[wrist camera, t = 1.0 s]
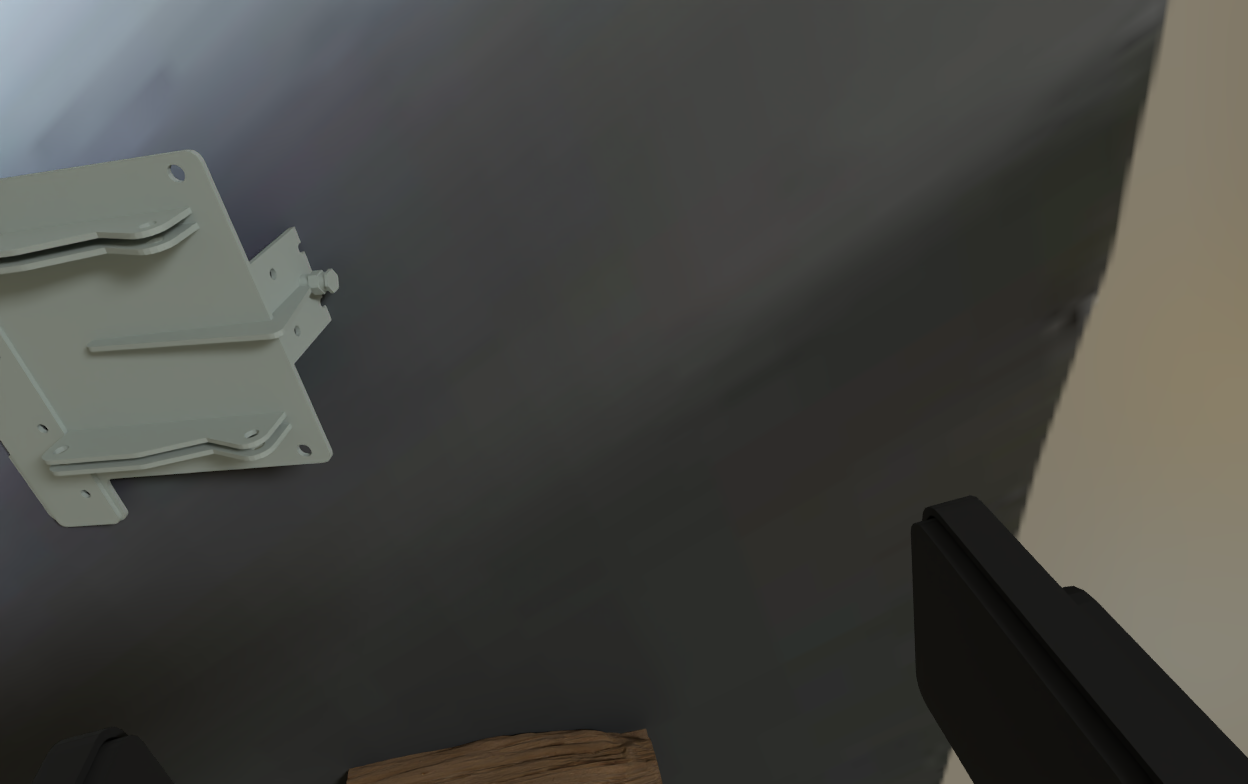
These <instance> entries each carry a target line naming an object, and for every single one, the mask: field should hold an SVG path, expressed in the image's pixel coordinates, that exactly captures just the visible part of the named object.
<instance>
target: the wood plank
mask: <svg viewBox="0 0 1248 784" xmlns="http://www.w3.org/2000/svg"><path fill="white" fill-rule="evenodd" d="M346 784H662V780H661V776H660V772H659V768H658V764H657V760H656V757H655V753H654V750H653V747H652V743H651V740H650V738H648V735H647V731H646V729H643V730H638V731H633V732H628V733H623V734H619V733H604V732H601V731H596V730H581V729H580V730H568V731H551V732H544V733H536V734H535V733H526V734H519V735H515V736H497V737H492V738H486V739H482V740H478V741H474V742H471V743H467V744H464V745H460V746H457V747H453V748H447V749H442V750H437V751H431V752H425V753H419V754H414V755H408V756H404V757H399V758H394V759H389V760H385V761H381V762H377V763H373V764H369V765H365V766H361V767H356V768H352V769H349V771H348V780H347V783H346Z"/></svg>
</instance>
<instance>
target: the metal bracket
mask: <svg viewBox="0 0 1248 784" xmlns="http://www.w3.org/2000/svg"><path fill="white" fill-rule="evenodd" d="M171 165H177V166H179V167H180V168H182V170H183V171H184V173H185V180H184V181H182V180H178V179H176V178H175V177H174V176H173V175H172V173H171V169H170V168H171ZM299 243H301V242H300V239H299V237H298V234H297V232H296V229H295V227H291V228H288V229H287V230H286V231H285V232H284V233H282V234H281V235H280V236H279V237H278V238H276V239H275V240H274V241H273V242H272V243H271V244H269V245H268V246H267V247H266V248H265V249H264V250H262V251H261V252H260V253H259V254H258V255H256V256H255V257H254V258H253V259H252V260H251V261H248V258H247V256H246V254H245V252H244V249H243V247H242V245H241V243H240V240H239V238H238V236H237V233H236V231H235V229H234V227H233V224H232V222H231V220H230V218H229V215H228V213H227V211H226V208H225V206H224V204H223V202H222V199H221V197H220V195H219V193H218V190H217V188H216V186H215V184H214V181H213V179H212V177H211V174H210V172H209V170H208V168H207V165H206V163H205V161H204V159H203V158H202V156H201V155H200V154H199V153H197V152H196V151H194V150H181V151H175V152H168V153H162V154H155V155H149V156H142V157H136V158H130V159H123V160H117V161H110V162H104V163H98V164H91V165H85V166H78V167H72V168H66V169H59V170H53V171H46V172H40V173H33V174H27V175H21V176H14V177H8V178H1V179H0V440H1V442H2V443H3V445H4V446H5V448H6V449H7V450H8V452H9V453H10V456H9V458H10V460H11V461H12V462H13V464H14V465H15V467H16V468H17V470H18V471H19V472H20V474H21V475H22V477H23V478H24V480H25V481H26V482H27V484H28V485H29V487H30V488H31V490H32V491H33V492H34V494H35V495H36V497H37V498H38V500H39V501H40V502H41V504H42V505H43V507H44V508H45V510H46V511H47V512H48V514H49V515H50V516H51V517H53V518H54V519H55V520H56V521H57V522H58V523H59V524H60V525H62V526H65V527H74V526H89V525H104V524H116V523H118V522H119V521H120V520H123V519H125V518H126V517H127V515H128V511H127V509H126V507H125V505H124V504H123V502H122V501H121V499H120V497H119V496H118V494H117V493H116V491H115V490H114V488H113V486H112V485H111V483H110V479H116V478H129V477H142V476H155V475H168V474H181V473H194V472H207V471H220V470H233V469H246V468H259V467H272V466H285V465H298V464H311V463H324V462H327V461H329V459H330V458H331V456H332V455H333V453H332V449H331V447H330V445H329V442H328V440H327V438H326V435H325V433H324V431H323V429H322V426H321V424H320V422H319V420H318V417H317V415H316V413H315V410H314V408H313V406H312V404H311V401H310V399H309V397H308V395H307V392H306V390H305V388H304V386H303V383H302V381H301V379H300V376H299V374H298V372H297V370H296V367H295V365H294V363H295V362H296V361H297V360H298V359H299V357H300V356H301V355H302V354H303V353H304V352H305V350H306V349H307V348H308V347H309V346H310V345H311V343H312V342H313V341H314V340H315V339H316V338H317V336H318V335H319V334H320V333H321V332H322V330H323V329H324V328H325V327H326V326H327V325H328V323H329V322H330V321H331V317H330V315H329V312H328V310H327V307H326V305H325V306H321V304H320V299H321V298H323V297H322V295H321V294H325V293H326V292H327V291H330V293H335V292H336V290H337V289H338V288H339V282H338V275H337V274H336V273H335V272H334V271H333V270H332V269H328V270H327V271H326V272H323V270H316V271H312V269H311V267H310V264H309V262H308V259H307V257H306V254H305V252H304V251H303V252H301V253H300V252H299V249H298V245H299ZM270 272H271V275H272V277H271V276H270ZM294 329H295V330H296V334H295V331H294ZM43 425H44V426H46V428H47V429H48V430H46V429H45V427H44V426H43ZM301 444H302V445H306V446H308V447H309V448H310V449H311V451H312V453H310V454H308V453H304V452H302V451H301V449H300V448H299V445H301ZM86 491H87V492H89V493H90V495H88V493H87V492H86Z"/></svg>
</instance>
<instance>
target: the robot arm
mask: <svg viewBox="0 0 1248 784" xmlns="http://www.w3.org/2000/svg"><path fill="white" fill-rule="evenodd" d="M911 547H912V575H913V603H914V631H915V659H916V677H917V682H918V686H919V689H920V692H921V694H922V697H923V699H924V701H925V703H926V705H927V707H928V708H929V710H930V712H931V713H932V715H933V717H934V718H935V720H936V722H937V723H938V725H939V727H940V728H941V730H942V732H943V733H944V735H945V736H946V738H947V740H948V741H949V743H950V745H951V746H952V748H953V750H954V751H955V753H956V755H957V756H958V757H959V760H960V761H961V763H962V765H963V766H964V768H965V769H966V771H967V773H968V774H969V776H970V778H971V779H972V781H973V783H974V784H1248V758H1247V757H1246V756H1245V755H1244V754H1243V752H1242V751H1241V750H1240V749H1239V748H1238V747H1237V746H1236V745H1235V744H1234V743H1233V742H1232V741H1231V740H1230V739H1229V738H1228V737H1227V736H1226V735H1225V734H1224V733H1223V732H1222V731H1221V730H1220V729H1219V728H1218V727H1217V725H1216V724H1215V723H1214V722H1213V721H1212V720H1211V719H1210V718H1209V717H1208V716H1207V715H1206V714H1205V713H1204V712H1203V711H1202V710H1201V709H1200V708H1199V707H1198V706H1197V705H1196V704H1195V703H1194V702H1193V701H1192V700H1191V699H1190V698H1189V697H1188V695H1187V694H1186V693H1185V692H1184V691H1183V690H1182V689H1181V688H1180V687H1179V686H1178V685H1177V684H1176V683H1175V682H1174V681H1173V680H1172V679H1171V678H1170V677H1169V676H1168V675H1167V674H1166V673H1165V672H1164V671H1163V670H1162V668H1160V666H1159V665H1158V664H1157V663H1156V662H1155V661H1154V660H1153V659H1152V658H1151V657H1150V656H1149V655H1148V654H1147V653H1146V652H1145V651H1144V650H1143V649H1142V648H1141V647H1140V646H1139V645H1138V644H1137V643H1136V642H1135V641H1134V640H1133V638H1132V637H1131V636H1130V635H1129V634H1128V633H1126V631H1125V630H1124V629H1123V628H1122V627H1121V626H1120V625H1119V624H1118V623H1117V622H1116V621H1115V620H1114V619H1113V618H1112V617H1111V616H1110V615H1109V614H1108V613H1107V612H1106V610H1105V609H1104V608H1102V606H1101V605H1100V604H1099V603H1098V602H1097V601H1096V600H1095V599H1093V598H1092V597H1091V596H1090V595H1089V594H1087V593H1086V592H1085V591H1084V590H1082V589H1079V588H1077V587H1075V586H1070V587H1063V588H1062V587H1061V586H1059V584H1058V583H1057V582H1056V581H1055V580H1054V579H1053V578H1052V577H1051V576H1050V575H1049V574H1048V573H1047V571H1046V570H1045V569H1044V568H1043V567H1042V566H1041V565H1040V564H1039V563H1038V562H1037V561H1036V560H1035V559H1034V557H1033V556H1032V555H1031V554H1030V553H1029V552H1028V551H1027V550H1026V549H1025V548H1024V547H1023V546H1022V545H1021V543H1020V542H1019V541H1018V540H1017V539H1016V538H1015V537H1014V536H1013V535H1012V534H1011V533H1010V532H1009V531H1008V529H1007V528H1006V527H1005V526H1004V525H1003V524H1002V523H1001V522H1000V521H999V520H998V519H997V518H996V517H995V515H994V514H993V513H992V512H991V511H990V510H989V509H988V508H987V507H986V506H985V505H984V504H983V503H982V502H981V501H980V500H979V499H978V498H977V497H974V496H971V495H970V496H967V497H963V498H959V499H956V500H952V501H948V502H944V503H941V504H937V505H933V506H930V507H927V508H925V510H924V512H923V518H922V521H921V522H918V523H914V524H913V525H912V527H911ZM32 784H174V783H173V781H172V780H171V779H170V777H169V776H168V775H167V773H166V772H165V770H164V769H163V768H162V766H161V765H160V764H159V762H158V761H157V760H156V758H155V757H154V756H153V754H152V753H151V752H150V750H149V749H148V748H147V746H146V745H145V744H144V742H143V741H142V740H141V739H140V738H139V737H138V736H135V735H130V736H128V735H127V734H126V733H125V732H124V731H123V730H122V729H119V728H117V727H110V728H106V729H102V730H98V731H94V732H91V733H87V734H83V735H80V736H76V737H72V738H68V739H65V740H61V741H59V742H58V743H57V744H55V745H54V746H53V747H52V748H51V750H50V751H49V753H48V754H47V756H46V758H45V759H44V761H43V763H42V765H41V767H40V769H39V771H38V773H37V775H36V776H35V778H34V780H33V782H32Z"/></svg>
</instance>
